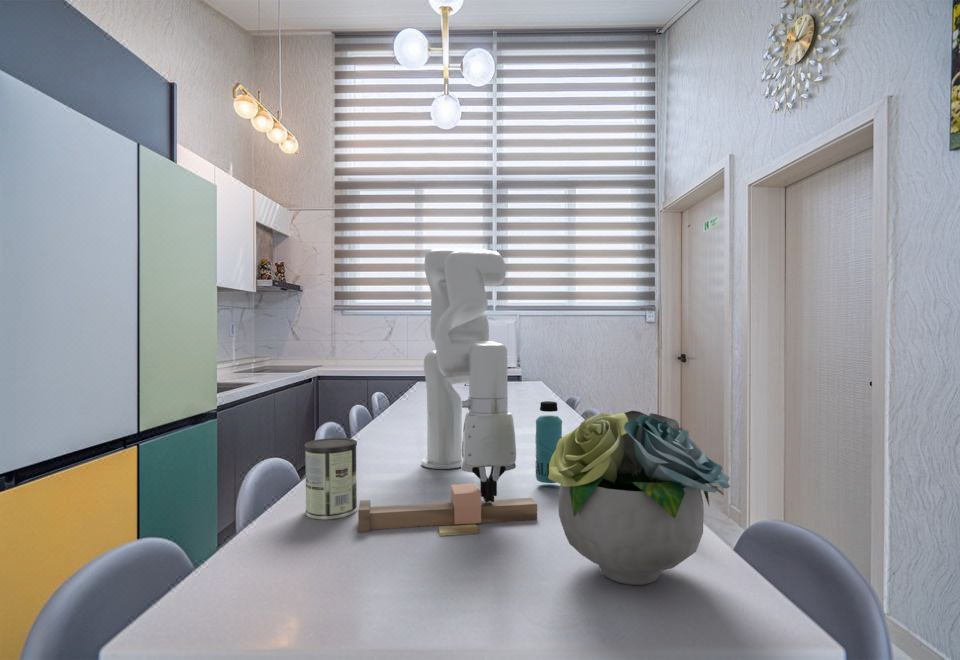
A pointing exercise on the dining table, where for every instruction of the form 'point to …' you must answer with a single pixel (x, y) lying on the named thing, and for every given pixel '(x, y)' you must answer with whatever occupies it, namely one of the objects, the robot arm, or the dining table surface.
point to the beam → (441, 515)
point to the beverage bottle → (546, 440)
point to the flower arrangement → (632, 493)
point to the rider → (466, 503)
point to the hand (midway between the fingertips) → (488, 499)
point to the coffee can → (331, 478)
